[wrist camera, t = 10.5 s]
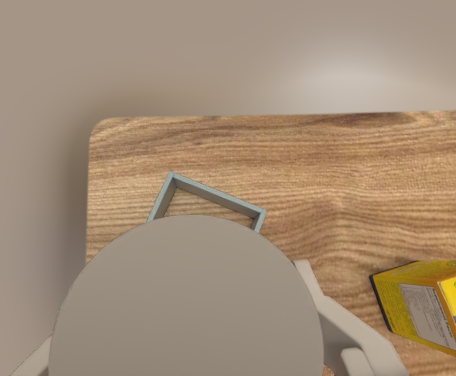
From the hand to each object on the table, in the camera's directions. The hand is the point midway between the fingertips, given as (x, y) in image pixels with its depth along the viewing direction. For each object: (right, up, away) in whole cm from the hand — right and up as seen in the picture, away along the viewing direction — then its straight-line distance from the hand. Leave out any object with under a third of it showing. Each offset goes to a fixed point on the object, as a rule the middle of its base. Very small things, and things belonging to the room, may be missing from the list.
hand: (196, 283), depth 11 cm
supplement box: (+20, -8, +23) cm, 32 cm away
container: (0, -2, +9) cm, 9 cm away
